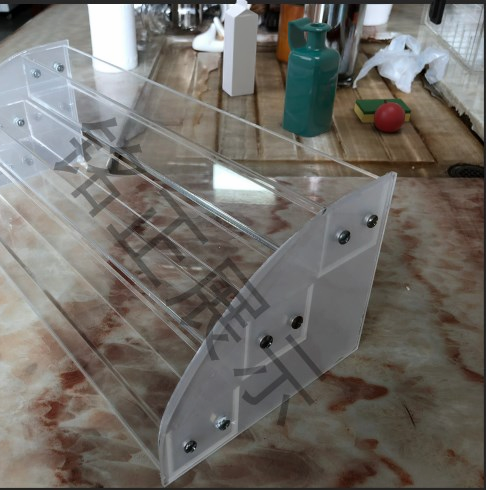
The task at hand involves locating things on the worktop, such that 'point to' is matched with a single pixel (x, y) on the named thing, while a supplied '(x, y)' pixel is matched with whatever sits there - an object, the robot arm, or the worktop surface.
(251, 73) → the milk
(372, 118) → the sponge
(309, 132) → the pitcher
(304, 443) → the worktop surface
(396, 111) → the apple
